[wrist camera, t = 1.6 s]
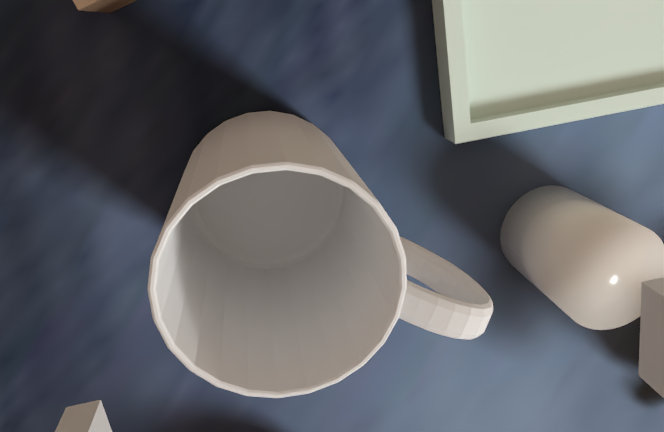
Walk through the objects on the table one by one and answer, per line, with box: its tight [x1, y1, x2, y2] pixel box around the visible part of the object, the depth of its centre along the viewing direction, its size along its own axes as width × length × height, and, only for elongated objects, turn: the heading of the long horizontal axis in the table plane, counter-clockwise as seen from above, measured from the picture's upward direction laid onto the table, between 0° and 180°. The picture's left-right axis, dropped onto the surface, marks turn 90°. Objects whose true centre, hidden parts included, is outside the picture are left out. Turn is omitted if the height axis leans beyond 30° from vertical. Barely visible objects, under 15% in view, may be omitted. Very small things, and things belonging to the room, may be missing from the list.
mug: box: [148, 111, 493, 398], centre depth 23 cm, size 12×8×10 cm, turn 71°
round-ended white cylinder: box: [500, 185, 664, 330], centre depth 27 cm, size 5×5×6 cm
